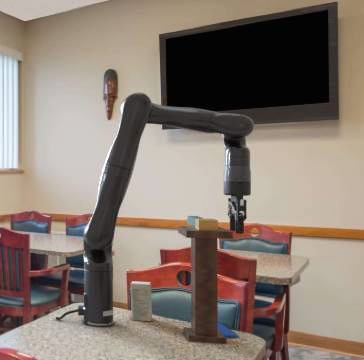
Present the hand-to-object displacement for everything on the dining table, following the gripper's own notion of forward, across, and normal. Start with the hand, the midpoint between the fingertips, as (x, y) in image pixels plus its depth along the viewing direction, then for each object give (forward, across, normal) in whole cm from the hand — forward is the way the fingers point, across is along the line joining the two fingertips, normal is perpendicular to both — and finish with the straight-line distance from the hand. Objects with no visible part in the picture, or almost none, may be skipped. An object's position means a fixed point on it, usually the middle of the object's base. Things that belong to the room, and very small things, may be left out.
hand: (236, 232), depth 153 cm
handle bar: (-2, +7, -12) cm, 14 cm away
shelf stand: (+30, +13, -11) cm, 34 cm away
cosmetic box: (+30, -2, -28) cm, 41 cm away
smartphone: (+30, +3, -6) cm, 31 cm away
